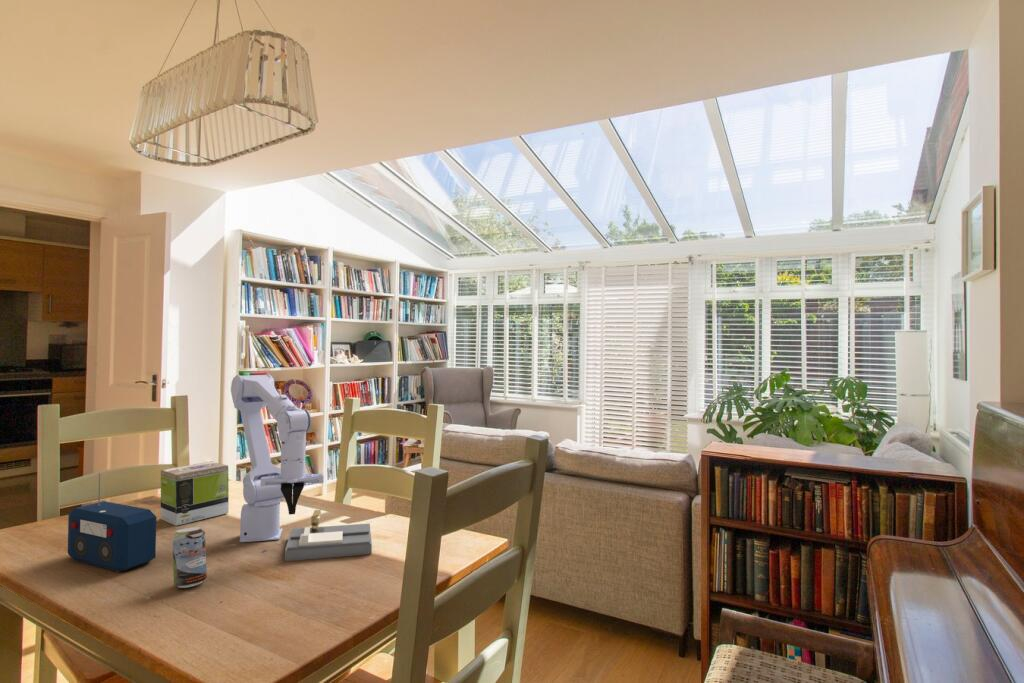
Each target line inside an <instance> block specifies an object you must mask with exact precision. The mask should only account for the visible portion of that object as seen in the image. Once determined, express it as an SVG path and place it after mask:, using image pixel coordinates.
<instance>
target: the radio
mask: <svg viewBox="0 0 1024 683" xmlns="http://www.w3.org/2000/svg"><path fill="white" fill-rule="evenodd" d="M100 495H101V473H98V496H97V497H98V498H97V499H98V502H94V503H91V504H87V505H82V506H78V507H75V508H73V509H71V511H69V512H68V516H67V518H68V523H67V528H68V529H67V530H68V531H67V554H68V556H69V557H70V558H71V559H72V560H73V561H75V562H79V563H84V564H88V565H91V566H95V567H98V568H103V569H107V570H110V571H114V572H117V573H122V572H125V571H128V570H130V569H133V568H136V567H138V566H142V565H144V564H147V563H149V562H151V561H153V560H154V559H156V556H157V555H156V554H157V553H156V550H157V549H156V548H157V547H156V546H157V544H156V543H157V516H156V515H155V513H154V512H153V511H152V510H151V509H148V508H143V507H137V506H131V505H127V504H121V503H116V502H111V501H106V500H105V501H104V500H103V501H101V496H100Z"/></svg>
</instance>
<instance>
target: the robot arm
mask: <svg viewBox="0 0 1024 683" xmlns="http://www.w3.org/2000/svg"><path fill="white" fill-rule="evenodd" d="M230 394H231V397H232V398H231V399H232V403H233V406H234V409H237V410H238V411H240V416H241V421H242V426H243V431H244V437H245V441H246V446H247V451H248V455H249V461H250V466H251V469H250V470H249V471H248V472H247V473H246V474H245V475H244V477H243V479H242V484H243V486H242V487H243V488H242V494H243V499H244V501H245V503H244V504H243V505H242V506H241V510H240V525H239V526H240V527H239V528H240V530H239V532H240V533H239V535H240V536H239V543H250V542H262V541H263V542H264V541H265V542H267V541H278V540H280V539H281V535H282V533H283V528H282V527H280V523H281V522H280V520H281V516H280V514H281V512H280V510H281V503H283V500H285V503H286V505H287V510H288V515H296V510H297V505H298V502H299V499H300V496H301V494H302V492H303V490H304V487H305V485H306V484H324V480H325V479H324V478H325V476H324V473H306V453H307V452H306V445H307V432H309V430H311V425H312V417H311V414H310V412H309V411H308V409H306V408H298V406H296V404H294V402H292V401H291V400H290V399H289V397H288V396H287V394H286V395H285V394H280V393H279V392H278V391H277V390H276V388H275V378H274V377H273V376H272V375H271V374H269V373H268V374H267V373H266V374H252V375H250V374H248V375H240V374H237V375H235V376H234V377H233V378H232V380H231V385H230ZM266 407H267V412H268V413H269V414H270V415H271V416H272V417H273V418H274V420H276V427H277V431H278V438H279V441H280V443H281V444H280V445H281V446H280V467H279V466H276V465H275V464H274V463H272V458H271V455H270V451H269V450H270V449H269V445H268V440H267V436H266V435H267V434H266V432H265V431H266V430H265V427H264V422H263V417H262V413H261V411H262V409H264V408H266Z"/></svg>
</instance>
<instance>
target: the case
mask: <svg viewBox="0 0 1024 683" xmlns="http://www.w3.org/2000/svg"><path fill="white" fill-rule="evenodd" d="M370 524H371V523H359V524H343V525H330V526H329V525H328V526H318V531H312V526H311V527H310V533H324V532H338V531H343V538H342V543H337V544H323V545H310V546H299V541H300V537H301V534H304V530H305V528H306V527H300V528H291V531H290V533H289V537H288V540H287V542H286V546H285V549H284V562H290V561H291V562H292V561H302V560H303V561H305V560H315V559H316V560H318V559H326V558H327V559H328V558H339V557H351V556H365V555H372V554H373V553H372V551H373V550H372V549H373V548H372V547H373V546H372V544H373V543H372V533H371V525H370Z"/></svg>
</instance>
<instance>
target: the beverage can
mask: <svg viewBox="0 0 1024 683" xmlns="http://www.w3.org/2000/svg"><path fill="white" fill-rule="evenodd" d="M206 545H207V544H206V532H205V531H204V529H203V526H190V527H185V528H181V529H177V530H175V534H174V535H173V536H172V560H173V562H172V563H173V568H172V569H173V585H174V586H176V587H177V588H180V589H187V588H191V587H196V586H198V585H201V584H202V583H203V582H204V581H205V580H206V579H207V576H208V575H207V573H208V572H207V551H206V550H207V548H206Z"/></svg>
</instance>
